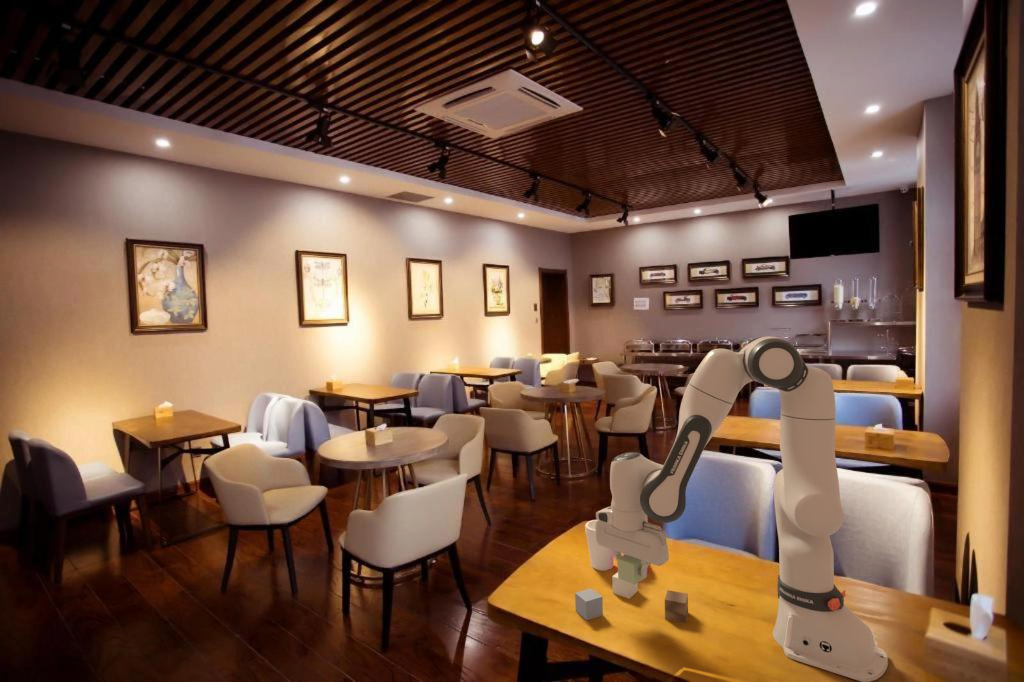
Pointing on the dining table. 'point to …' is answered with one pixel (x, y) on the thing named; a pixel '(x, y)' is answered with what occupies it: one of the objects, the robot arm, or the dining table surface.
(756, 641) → the dining table surface
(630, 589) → the cube offwhite
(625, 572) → the cube sage
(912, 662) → the dining table surface
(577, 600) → the cube slate
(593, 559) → the foam cup
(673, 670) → the dining table surface
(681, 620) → the cube walnut
